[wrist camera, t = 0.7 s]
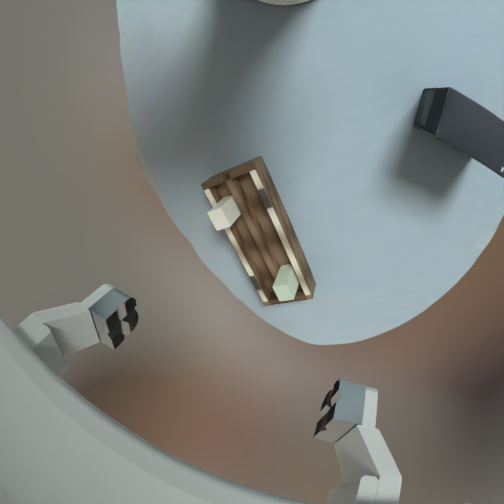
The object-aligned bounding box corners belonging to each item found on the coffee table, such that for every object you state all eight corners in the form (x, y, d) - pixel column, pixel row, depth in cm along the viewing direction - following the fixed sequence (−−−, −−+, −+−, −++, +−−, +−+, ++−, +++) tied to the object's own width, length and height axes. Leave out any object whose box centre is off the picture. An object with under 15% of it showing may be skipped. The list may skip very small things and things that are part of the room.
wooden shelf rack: (212, 176, 43) (200, 185, 40) (260, 156, 39) (251, 163, 36) (271, 291, 52) (265, 306, 49) (315, 283, 48) (312, 299, 45)
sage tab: (281, 265, 46) (272, 286, 41) (294, 262, 44) (286, 284, 40) (287, 279, 47) (279, 301, 42) (300, 277, 46) (293, 299, 41)
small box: (484, 119, 24) (521, 132, 15) (472, 158, 27) (505, 181, 19) (423, 85, 25) (450, 84, 17) (412, 127, 29) (434, 140, 21)
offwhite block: (223, 197, 42) (207, 212, 38) (235, 192, 41) (220, 207, 37) (231, 214, 43) (216, 230, 39) (244, 209, 42) (230, 226, 38)
